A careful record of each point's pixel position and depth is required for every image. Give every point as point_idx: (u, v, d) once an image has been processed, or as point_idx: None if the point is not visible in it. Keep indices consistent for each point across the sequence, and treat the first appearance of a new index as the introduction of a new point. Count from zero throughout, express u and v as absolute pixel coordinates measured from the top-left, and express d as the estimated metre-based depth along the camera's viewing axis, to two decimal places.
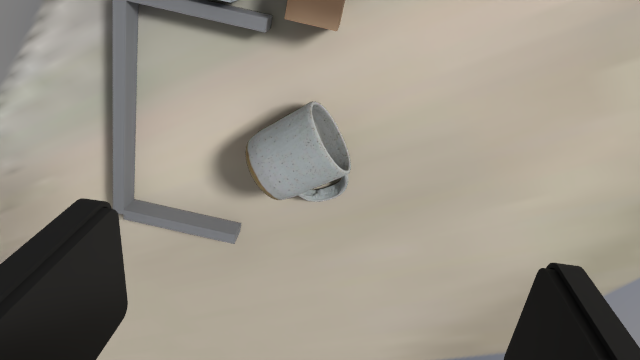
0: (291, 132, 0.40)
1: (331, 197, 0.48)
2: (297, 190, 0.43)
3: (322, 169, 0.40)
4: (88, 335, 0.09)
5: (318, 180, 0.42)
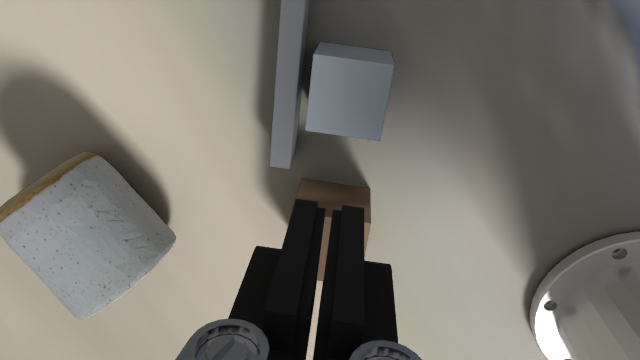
0: (114, 252, 0.26)
1: None
2: (23, 261, 0.26)
3: (69, 305, 0.26)
4: (310, 322, 0.10)
5: (51, 291, 0.27)
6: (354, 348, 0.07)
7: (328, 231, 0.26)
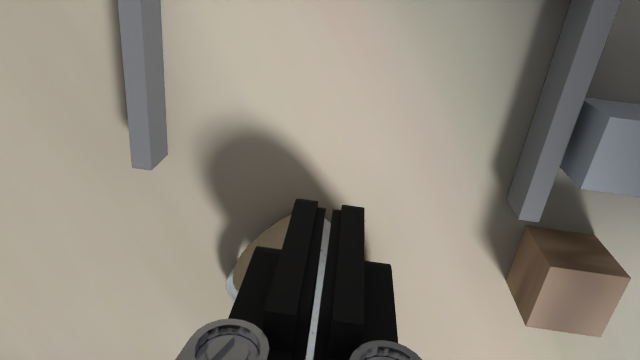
0: None
1: None
2: None
3: None
4: (310, 322, 0.10)
5: None
6: (354, 348, 0.07)
7: (583, 285, 0.26)
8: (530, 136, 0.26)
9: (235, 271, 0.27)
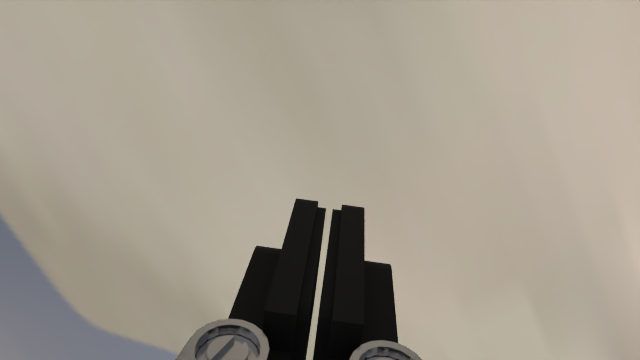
0: None
1: None
2: None
3: None
4: (310, 322, 0.10)
5: None
6: (354, 348, 0.07)
7: None
8: None
9: None
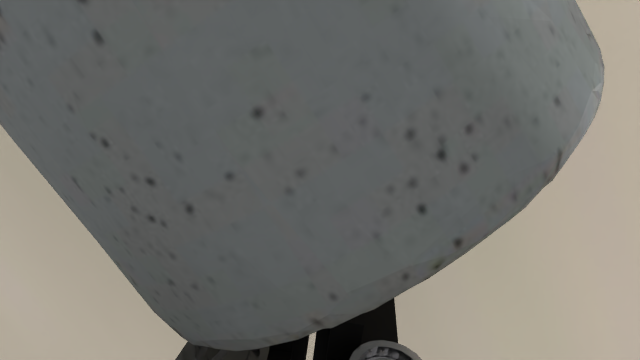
0: None
1: None
2: None
3: (181, 273, 0.05)
4: None
5: (73, 204, 0.05)
6: (354, 348, 0.07)
7: None
8: None
9: None
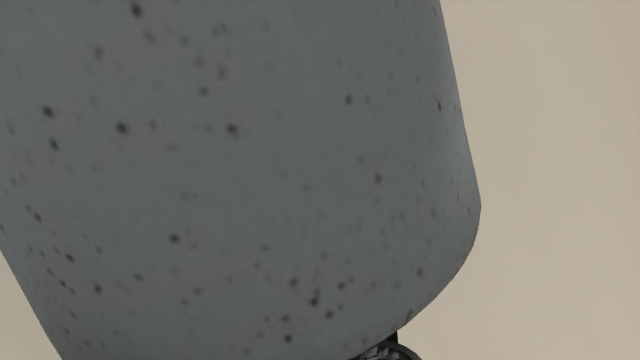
0: (401, 136, 0.05)
1: None
2: None
3: (78, 329, 0.05)
4: None
5: None
6: None
7: None
8: None
9: None
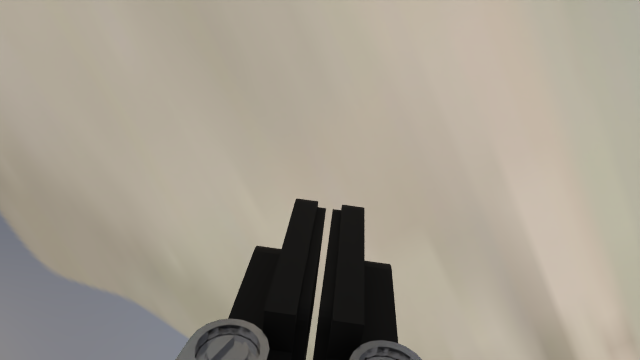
0: None
1: None
2: None
3: None
4: (310, 322, 0.10)
5: None
6: (354, 348, 0.07)
7: None
8: None
9: None
